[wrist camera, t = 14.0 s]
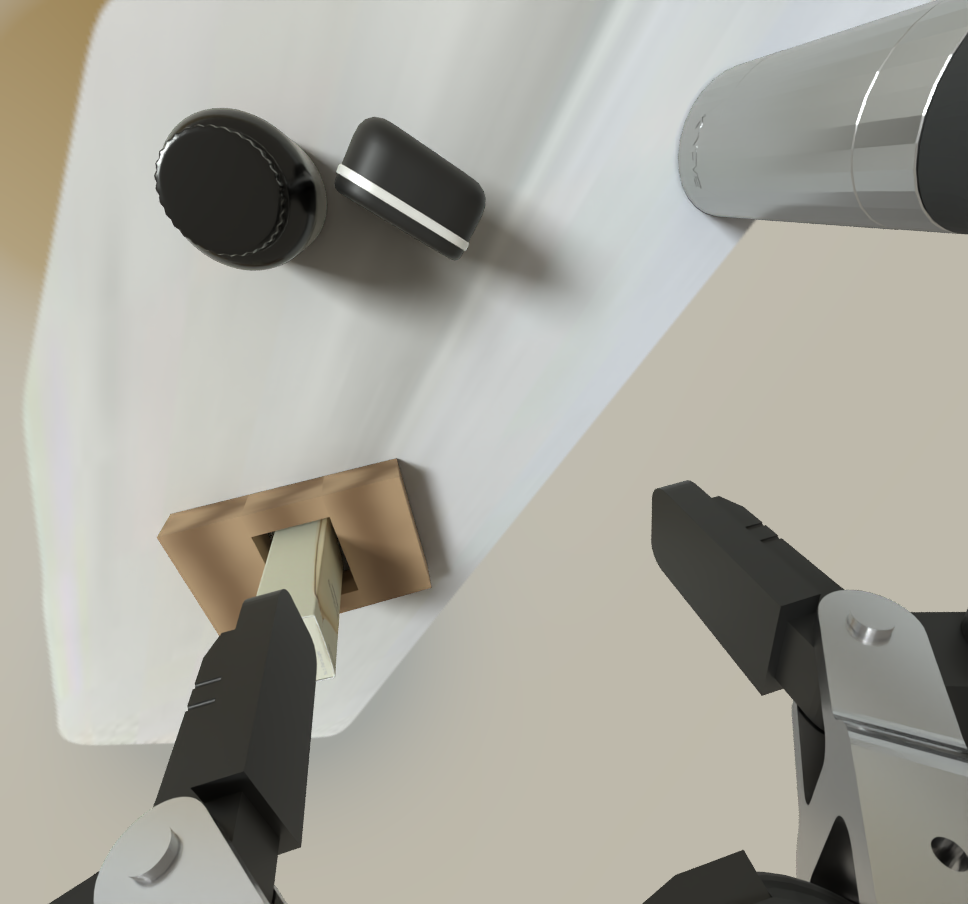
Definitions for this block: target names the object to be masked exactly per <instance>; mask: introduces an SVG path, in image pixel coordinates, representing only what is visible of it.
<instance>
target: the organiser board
mask: <svg viewBox="0 0 968 904" xmlns="http://www.w3.org/2000/svg"><path fill="white" fill-rule="evenodd" d="M327 517H330V519H331V522H332V524H333V527H334V529H335V532H336V534H337V537H338V539H339V542H340V544H341V547H342V549H343V552H344V554H345V557H346V560H347V562H348V565H349V567H350V570H346V571H343V575H342V588H341V600H340V613H343V612H347V611H350V610H354V609H357V608H361V607H364V606H368V605H372V604H375V603H379V602H382V601H386V600H389V599H393V598H396V597H400V596H404V595H407V594H411V593H414V592H418V591H421V590H425V589H428V588H431V582H430V577H429V571H428V566H427V562H426V559H425V555H424V552H423V548H422V545H421V541H420V538H419V534H418V531H417V527H416V524H415V521H414V517H413V514H412V510H411V507H410V503H409V500H408V496H407V493H406V489H405V486H404V482H403V479H402V475H401V472H400V468H399V465H398V461H397V458H396V459H392V460H388V461H384V462H380V463H376V464H371V465H367V466H363V467H359V468H355V469H351V470H347V471H343V472H339V473H335V474H331V475H327V476H323V477H319V478H315V479H311V480H307V481H303V482H299V483H295V484H291V485H287V486H283V487H279V488H274V489H270V490H266V491H262V492H258V493H254V494H250V495H246V496H242V497H238V498H234V499H230V500H226V501H222V502H218V503H214V504H210V505H206V506H202V507H198V508H194V509H190V510H186V511H182V512H177V513H173V514H170V516H169V518H168V519H167V521H166V523H165V525H164V526H163V528H162V530H161V531H160V533H159V535H158V537H157V539H158V540H159V542H160V543H161V545H162V546H163V548H164V550H165V551H166V553H167V554H168V556H169V557H170V559H171V561H172V562H173V564H174V565H175V567H176V569H177V570H178V572H179V573H180V575H181V576H182V578H183V580H184V581H185V583H186V584H187V586H188V587H189V589H190V591H191V592H192V594H193V595H194V597H195V598H196V600H197V602H198V603H199V605H200V606H201V608H202V609H203V611H204V613H205V614H206V616H207V617H208V619H209V620H210V622H211V624H212V625H213V627H214V628H215V630H216V631H217V633H218V635H219V636H220V635H221V633H223V632H227V631H231V630H234V629H235V628H236V625H237V621H238V618H239V614H240V610H241V607H242V604H243V602H244V601H245V600H246V599H248V598H252V597H255V596H256V595H257V591H258V588H259V585H260V581H261V578H262V574H263V571H264V568H265V564H266V561H267V557H268V554H269V550H270V547H271V544H272V542H271V540H270V538H269V536H268V534H267V533H269V532H273V531H277V530H281V529H285V528H289V527H292V526H296V525H300V524H304V523H308V522H312V521H316V520H320V519H323V518H327ZM340 613H339V614H340Z"/></svg>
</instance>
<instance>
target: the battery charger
mask: <svg viewBox="0 0 968 904" xmlns="http://www.w3.org/2000/svg"><path fill="white" fill-rule="evenodd" d="M336 173H337V177H336V180H335V188H336V189H337V191H338V192H340V193H341V194H342V195H344V196H345V197H347V198H349V199H350V200H352V201H354V202H355V203H357V204H359V205H360V206H362V207H364V208H365V209H367V210H369V211H370V212H372V213H374V214H375V215H377V216H379V217H380V218H382V219H384V220H385V221H387V222H389V223H390V224H392V225H394V226H395V227H397V228H399V229H400V230H402V231H404V232H406V233H407V234H409V235H411V236H412V237H414V238H416V239H417V240H419V241H421V242H422V243H424V244H426V245H427V246H429V247H431V248H432V249H434V250H436V251H438V252H439V253H441V254H443V255H444V256H446V257H448V258H450V259H452V260H458V259H459V258H460V257H461V255H462V254H463V252H464V251H466V250H467V248H468V246H469V243H468V242H469V240H470V238H471V236H472V234H473V232H474V230H475V228H476V226H477V224H478V222H479V220H480V218H481V216H482V214H483V211H484V208H485V200H486V199H485V195H484V191H483V189H482V188H481V186H480V185H479V183H478V182H476V181H475V180H474V179H473V178H471V177H470V176H469V175H467V174H466V173H464V172H463V171H461V170H460V169H458V168H457V167H456V166H454V165H453V164H451V163H450V162H448V161H447V160H445V159H444V158H442V157H441V156H440V155H438V154H437V153H435V152H434V151H432V150H431V149H429V148H428V147H426V146H425V145H423V144H422V143H420V142H419V141H418V140H416V139H415V138H413V137H412V136H410V135H409V134H407V133H406V132H405V131H403V130H402V129H400V128H399V127H397V126H396V125H394V124H392V123H391V122H389V121H387V120H385V119H383V118H378V117H372V118H368V119H365V120H364V121H363V122H362V123H361V124H359V126H358V128H357V129H356V131H355V133H354V135H353V137H352V140H351V142H350V145H349V147H348V150H347V152H346V155H345V157H344V160H343V162H342V164H339V166H338V169H337V171H336Z"/></svg>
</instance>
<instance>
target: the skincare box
mask: <svg viewBox="0 0 968 904" xmlns="http://www.w3.org/2000/svg"><path fill="white" fill-rule="evenodd" d="M342 575H343V561H342V557H341V553H340V549H339V545H338V542H337V538H336V534H335V531H334V527H333V524H332V522H331V519H330V517H327V518H323V519H320V520H316V521H312V522H308V523H304V524H300V525H296V526H292V527H289V528H285V529H281V530H277V531H275V533H274V537H273V540H272V544H271V547H270V550H269V554H268V557H267V561H266V564H265V568H264V571H263V574H262V578H261V581H260V585H259V588H258V591H257V595H256V596H259V595H263V594H266V593H270V592H274V591H277V590H281V589H286V590H287V591H288V592H289V593H290V595H291V597H292V599H293V601H294V603H295V605H296V607H297V609H298V611H299V613H300V615H301V617H302V619H303V621H304V623H305V625H306V627H307V629H308V631H309V633H310V635H311V637H312V640H313V643H314V646H315V651H316V658H317V674H316V682H319V681H323V680H327V679H331V678H334V677H335V670H336V653H337V640H338V626H339V613H340V600H341V588H342Z"/></svg>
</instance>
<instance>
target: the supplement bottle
mask: <svg viewBox="0 0 968 904" xmlns="http://www.w3.org/2000/svg"><path fill="white" fill-rule="evenodd" d="M156 169H157V171H156V173H155V175H154V177H155V180H156V182H157V184H156V191H157V192H158V194H159V200H160V203H161V205H162V206H163V207H164V209H165V213H166V215H167V216H168V217H169V218H170V219H171V220H172V223H173V225H174V227H176V228H177V229H179V230H180V232H181V233H182V234H183V236H184V237H186V239H187V240H188V241H189V242H190V243H191V244H192V245H194V246H195V247H196V248H197V249H198V250H200V251H201V252H202V253H204V254H205V255H207V256H208V257H210V258H212V259H213V260H215V261H217V262H219V263H221V264H224V265H227V266H229V267H233V268H237V269H242V270H251V271H256V270H266V269H271V268H275V267H278V266H280V265H283V264H285V263H287V262H288V261H290V260H292V259H293V258H294V257H296V256H297V255H298V254H299V253H301V252H302V251H303V250H304V249H306V248H307V247H308V246H309V245H310V244H311V243H312V242H313V241H314V240H315V239H316V238H317V236H318V235H319V233H320V231H321V229H322V227H323V225H324V222H325V218H326V213H327V197H326V191H325V187H324V183H323V180H322V178H321V175H320V173H319V171H318V169H317V168H316V166H315V164H314V163H313V162H312V160H311V159H310V158H309V156H308V155H307V154H306V153H305V152H304V151H303V150H302V149H301V148H300V147H299V146H298V145H297V144H296V143H294V142H293V141H292V140H291V139H289V138H288V137H287V136H286V135H285V134H283V133H282V132H281V131H280V130H278V129H277V128H276V127H274V126H273V125H271V124H270V123H268V122H267V121H265V120H263V119H261V118H259V117H257V116H255V115H252V114H250V113H247V112H244V111H240V110H236V109H230V108H212V109H207V110H203V111H199V112H197V113H194V114H192V115H190V116H189V117H187V118H185V119H184V120H183V121H181V122H180V123H179V124H178V125H177V126H176V127H175V128H174V129H173V130H172V132H171V133H170V134H169V136H168V138H167V140H166V141H165V144H164V146H163V149H162V150H160V151H159V159H158V160H157V162H156Z"/></svg>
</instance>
